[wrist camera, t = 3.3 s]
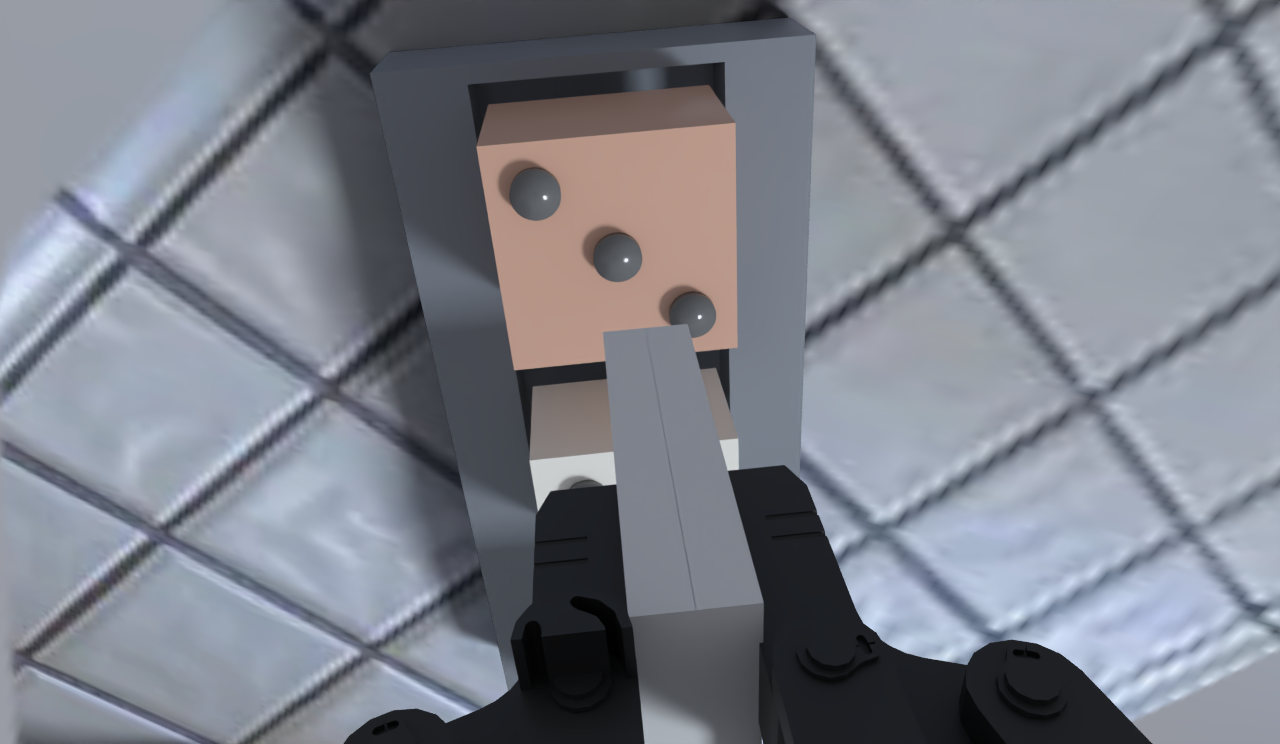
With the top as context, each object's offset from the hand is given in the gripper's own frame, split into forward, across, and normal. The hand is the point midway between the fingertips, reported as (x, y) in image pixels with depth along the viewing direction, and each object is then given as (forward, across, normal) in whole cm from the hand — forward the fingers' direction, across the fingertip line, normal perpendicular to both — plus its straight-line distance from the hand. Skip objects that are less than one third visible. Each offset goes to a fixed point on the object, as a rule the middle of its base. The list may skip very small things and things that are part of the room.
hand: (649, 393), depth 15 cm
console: (+14, 0, +9) cm, 17 cm away
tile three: (+11, 0, 0) cm, 11 cm away
